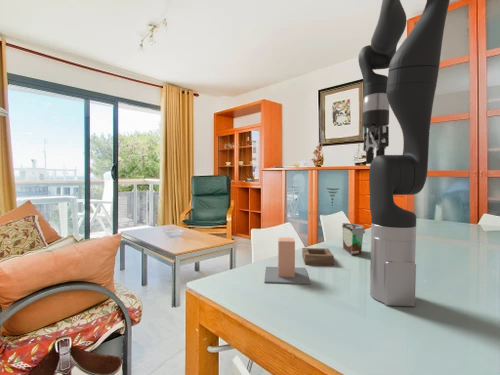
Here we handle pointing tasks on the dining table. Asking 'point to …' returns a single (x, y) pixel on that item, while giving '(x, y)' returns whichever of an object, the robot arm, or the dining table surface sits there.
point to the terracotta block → (286, 257)
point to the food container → (352, 238)
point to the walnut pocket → (317, 256)
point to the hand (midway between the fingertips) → (374, 163)
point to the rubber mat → (299, 278)
